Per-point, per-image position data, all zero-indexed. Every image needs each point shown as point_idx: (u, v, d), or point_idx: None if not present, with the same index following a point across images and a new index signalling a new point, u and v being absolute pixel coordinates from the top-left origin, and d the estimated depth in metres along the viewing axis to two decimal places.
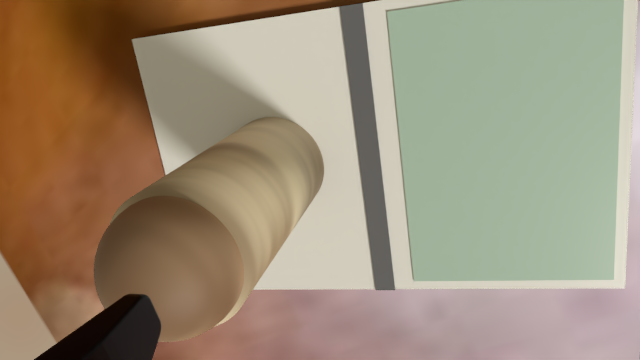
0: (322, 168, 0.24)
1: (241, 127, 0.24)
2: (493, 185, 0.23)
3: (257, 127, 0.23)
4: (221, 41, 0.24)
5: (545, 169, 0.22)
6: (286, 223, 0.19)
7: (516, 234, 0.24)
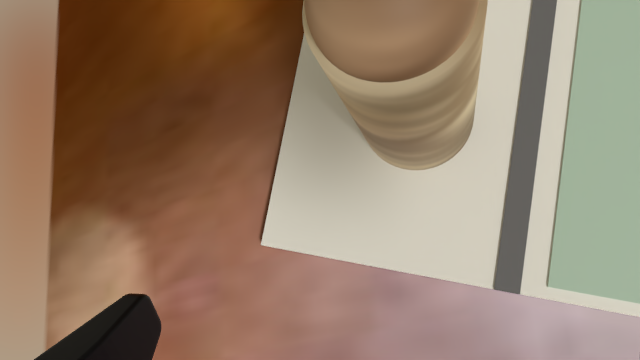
0: (472, 124, 0.22)
1: None
2: None
3: None
4: None
5: None
6: (477, 77, 0.17)
7: None
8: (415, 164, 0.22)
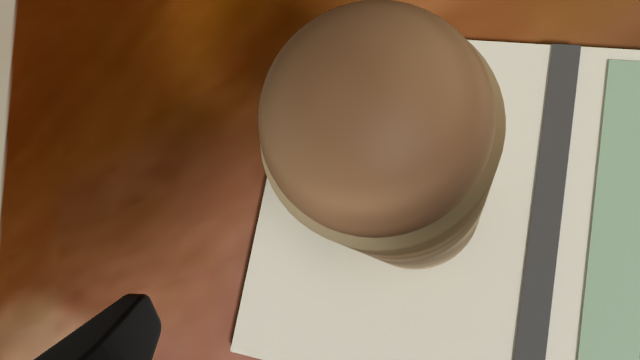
0: None
1: None
2: None
3: None
4: None
5: None
6: None
7: None
8: None
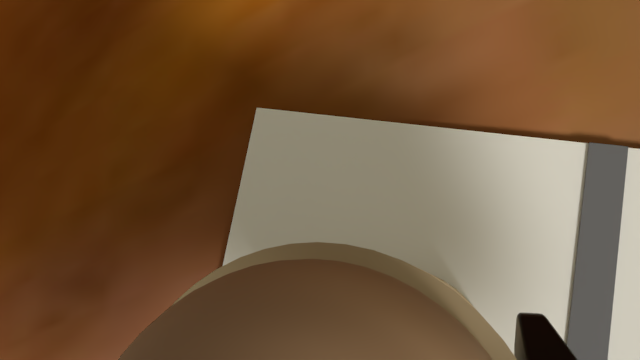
0: None
1: None
2: None
3: None
4: (386, 143, 0.16)
5: None
6: None
7: None
8: None
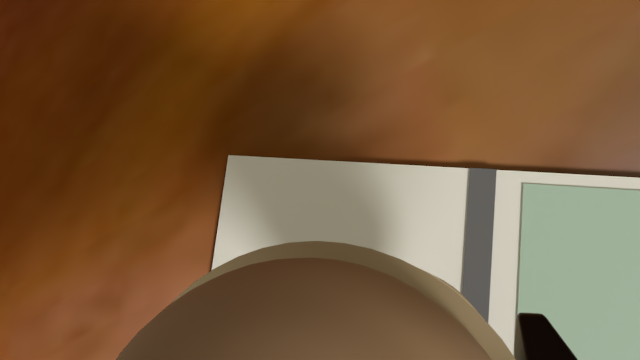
0: None
1: None
2: None
3: None
4: (326, 177, 0.22)
5: None
6: None
7: None
8: None
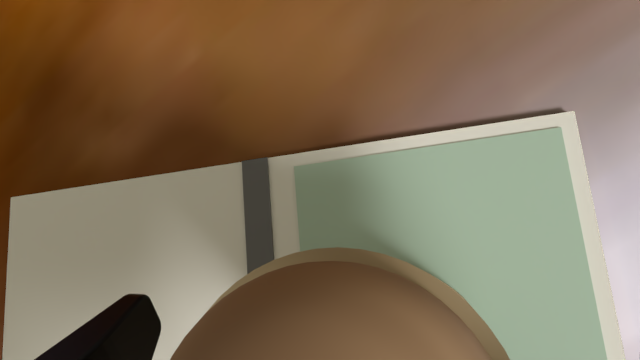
0: None
1: None
2: None
3: None
4: (107, 200, 0.20)
5: None
6: None
7: None
8: None
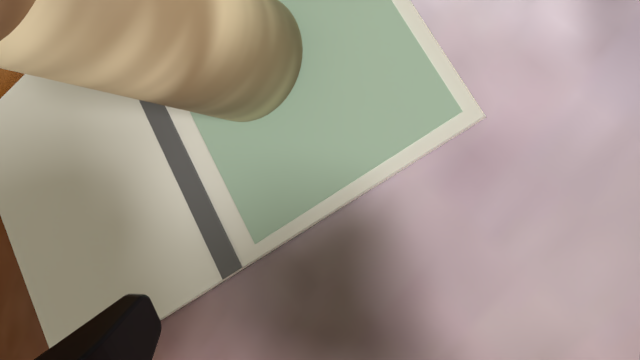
0: (297, 36, 0.18)
1: None
2: None
3: None
4: (25, 90, 0.25)
5: (314, 30, 0.19)
6: None
7: (328, 121, 0.18)
8: (250, 110, 0.18)
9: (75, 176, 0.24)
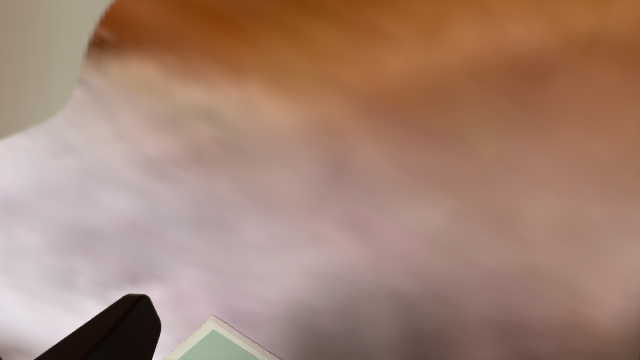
0: None
1: None
2: None
3: None
4: None
5: None
6: None
7: None
8: None
9: None
